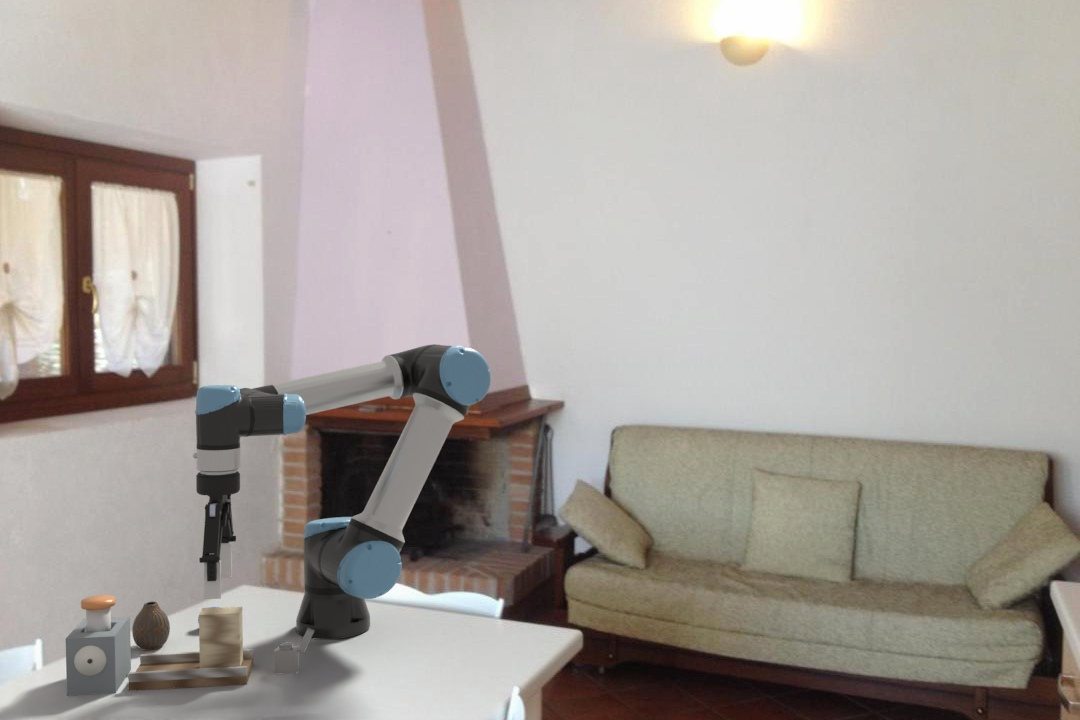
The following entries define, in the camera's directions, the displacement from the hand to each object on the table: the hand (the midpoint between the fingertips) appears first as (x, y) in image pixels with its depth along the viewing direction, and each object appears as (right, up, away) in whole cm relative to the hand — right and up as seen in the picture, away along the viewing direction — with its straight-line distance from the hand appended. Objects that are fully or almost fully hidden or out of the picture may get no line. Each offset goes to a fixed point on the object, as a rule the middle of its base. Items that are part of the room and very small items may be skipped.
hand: (218, 587), depth 182 cm
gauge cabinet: (-21, -16, -2) cm, 26 cm away
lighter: (+13, -16, +3) cm, 21 cm away
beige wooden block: (0, -14, +1) cm, 14 cm away
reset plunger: (-21, -9, -3) cm, 23 cm away
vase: (-18, -16, +16) cm, 29 cm away
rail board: (-5, -16, 0) cm, 17 cm away
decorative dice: (-10, -15, +28) cm, 33 cm away
